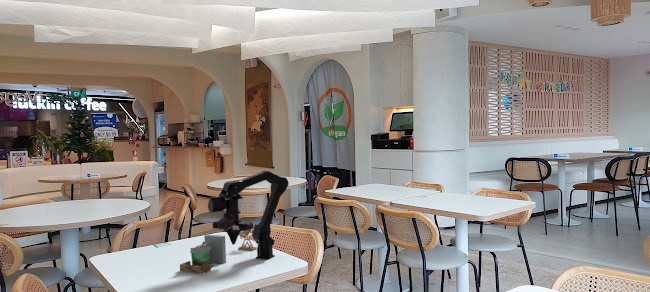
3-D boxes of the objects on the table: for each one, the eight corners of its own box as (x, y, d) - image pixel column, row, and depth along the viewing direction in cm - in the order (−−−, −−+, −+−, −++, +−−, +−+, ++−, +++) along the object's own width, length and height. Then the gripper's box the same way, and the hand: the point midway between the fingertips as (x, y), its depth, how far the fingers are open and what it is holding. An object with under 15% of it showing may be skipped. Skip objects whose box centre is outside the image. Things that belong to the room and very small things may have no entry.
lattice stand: (238, 249, 232) (237, 226, 232) (242, 247, 236) (241, 224, 236) (252, 251, 229) (251, 227, 228) (257, 249, 232) (256, 225, 232)
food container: (204, 271, 197) (203, 248, 197) (191, 271, 198) (190, 248, 198) (216, 263, 209) (215, 241, 209) (204, 262, 210) (203, 241, 210)
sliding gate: (226, 261, 210) (225, 235, 209) (223, 263, 208) (222, 237, 207) (208, 260, 214) (207, 234, 214) (205, 261, 212) (204, 235, 212)
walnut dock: (210, 270, 198) (210, 263, 198) (202, 274, 193) (201, 267, 193) (188, 267, 203) (188, 261, 203) (180, 271, 198) (179, 264, 198)
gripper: (203, 212, 202) (205, 247, 203) (238, 214, 195) (240, 250, 195) (219, 207, 212) (221, 241, 213) (253, 209, 205) (254, 244, 205)
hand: (233, 244), depth 206 cm, fingers closed
